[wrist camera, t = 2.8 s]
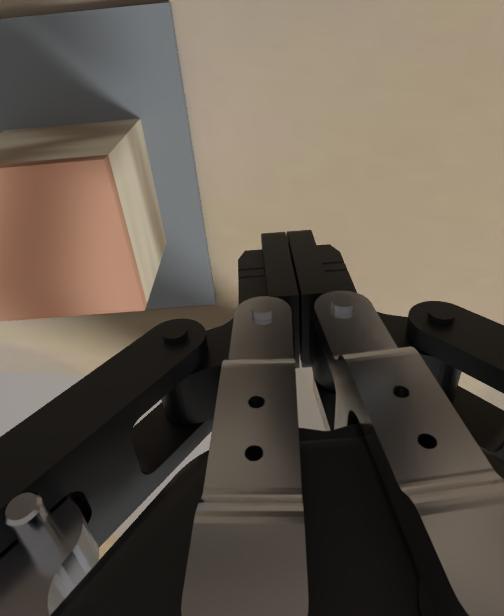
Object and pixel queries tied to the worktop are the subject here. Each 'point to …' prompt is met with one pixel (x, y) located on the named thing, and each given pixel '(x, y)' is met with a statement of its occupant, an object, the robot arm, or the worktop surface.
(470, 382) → the worktop surface
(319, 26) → the worktop surface
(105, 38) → the slate mat
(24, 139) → the birch cube
